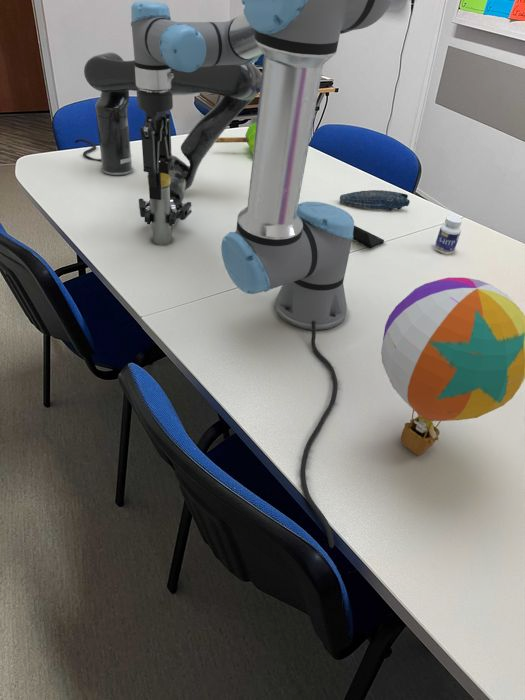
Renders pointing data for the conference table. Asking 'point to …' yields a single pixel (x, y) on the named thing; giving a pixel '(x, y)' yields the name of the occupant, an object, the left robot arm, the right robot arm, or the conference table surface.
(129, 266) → the conference table surface
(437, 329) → the toy
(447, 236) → the pill bottle
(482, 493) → the conference table surface
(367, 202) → the fish model
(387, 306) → the conference table surface
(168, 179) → the lid
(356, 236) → the handheld gaming console
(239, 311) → the conference table surface
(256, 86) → the left robot arm
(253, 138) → the decorative tree
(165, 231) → the grey metal canister
